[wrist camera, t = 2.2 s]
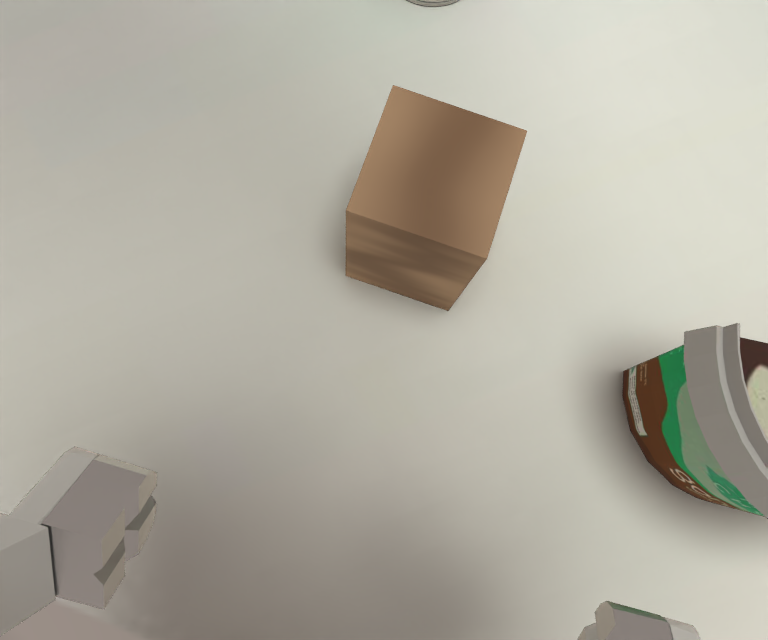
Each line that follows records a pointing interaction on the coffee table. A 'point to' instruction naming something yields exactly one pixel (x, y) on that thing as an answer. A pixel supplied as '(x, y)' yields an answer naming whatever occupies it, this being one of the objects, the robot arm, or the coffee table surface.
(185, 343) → the coffee table surface
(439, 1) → the spray can
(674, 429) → the ice cream tub
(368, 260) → the walnut block
